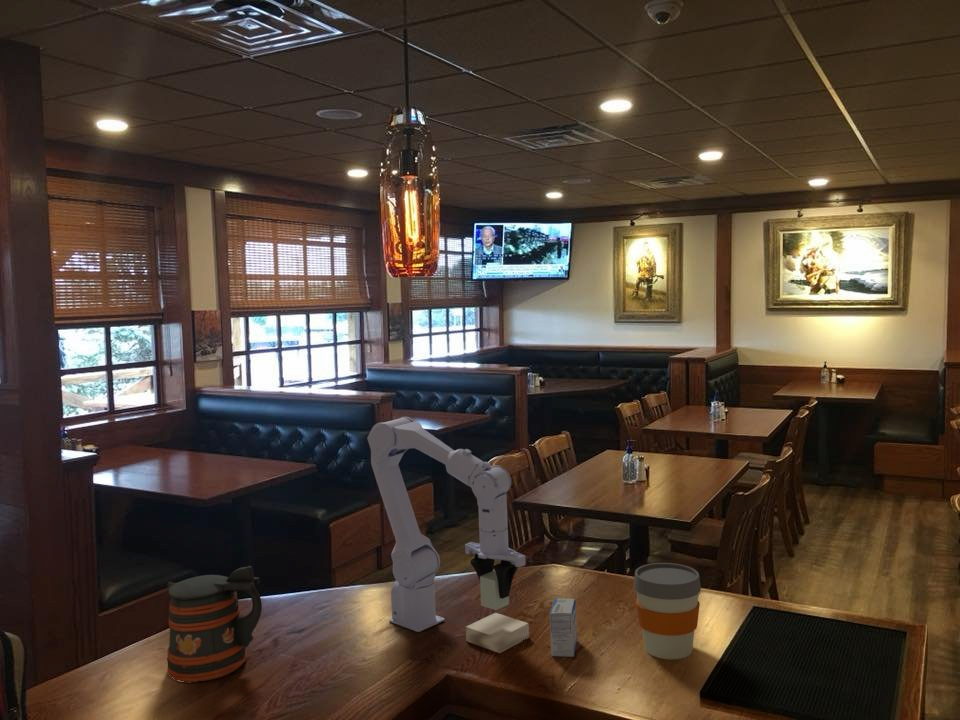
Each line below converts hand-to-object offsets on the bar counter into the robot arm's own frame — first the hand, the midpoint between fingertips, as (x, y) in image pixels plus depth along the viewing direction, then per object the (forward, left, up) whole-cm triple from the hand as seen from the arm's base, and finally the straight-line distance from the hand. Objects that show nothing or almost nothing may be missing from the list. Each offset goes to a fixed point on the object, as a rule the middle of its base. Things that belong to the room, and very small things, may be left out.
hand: (496, 594), depth 160 cm
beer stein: (-35, -42, -10) cm, 56 cm away
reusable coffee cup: (+29, +17, -10) cm, 35 cm away
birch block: (0, 0, -9) cm, 9 cm away
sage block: (0, 0, -2) cm, 2 cm away
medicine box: (+13, +5, -10) cm, 17 cm away
